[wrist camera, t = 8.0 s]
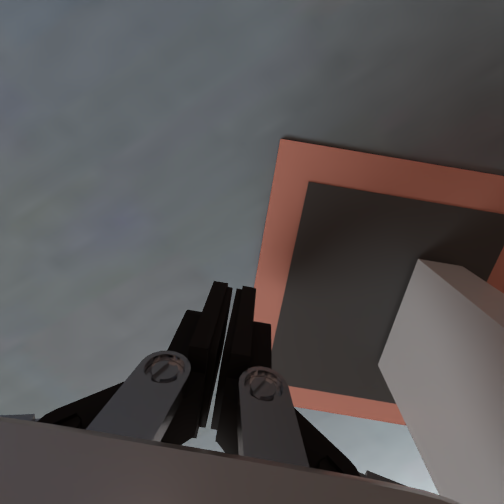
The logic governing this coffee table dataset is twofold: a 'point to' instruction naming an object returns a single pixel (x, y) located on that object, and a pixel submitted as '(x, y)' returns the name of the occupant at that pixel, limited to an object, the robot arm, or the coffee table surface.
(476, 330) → the slider
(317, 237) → the frame
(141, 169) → the coffee table surface
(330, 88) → the coffee table surface
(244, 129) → the coffee table surface
